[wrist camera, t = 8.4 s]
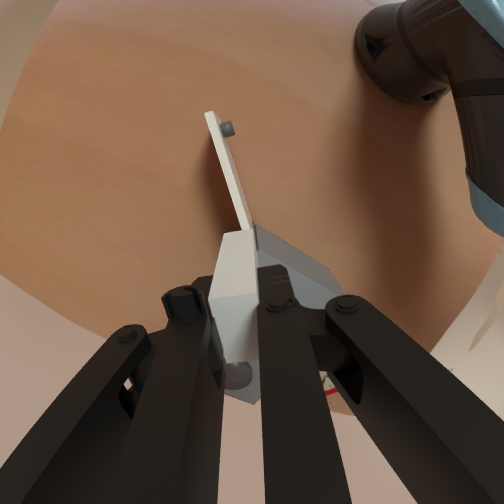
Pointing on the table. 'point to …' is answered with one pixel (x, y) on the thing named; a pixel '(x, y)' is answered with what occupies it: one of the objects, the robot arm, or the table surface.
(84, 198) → the table surface
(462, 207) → the table surface
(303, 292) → the case
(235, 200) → the door
